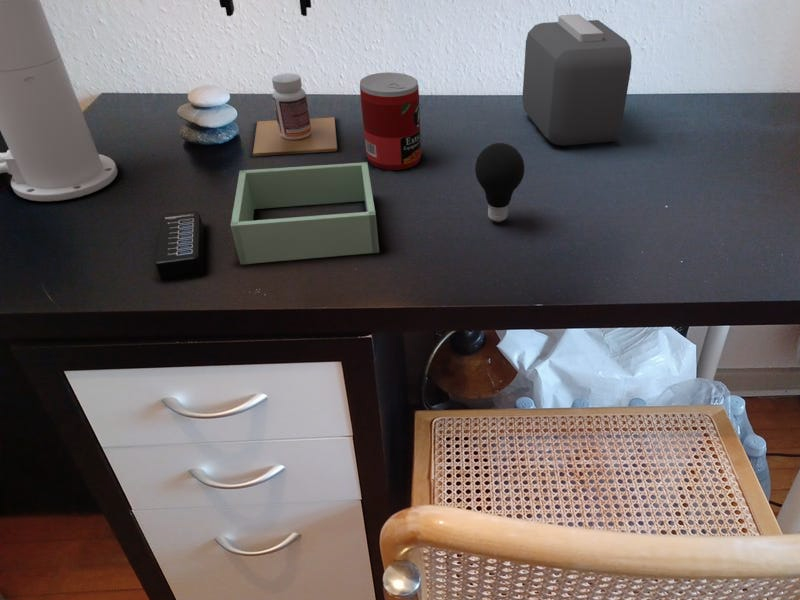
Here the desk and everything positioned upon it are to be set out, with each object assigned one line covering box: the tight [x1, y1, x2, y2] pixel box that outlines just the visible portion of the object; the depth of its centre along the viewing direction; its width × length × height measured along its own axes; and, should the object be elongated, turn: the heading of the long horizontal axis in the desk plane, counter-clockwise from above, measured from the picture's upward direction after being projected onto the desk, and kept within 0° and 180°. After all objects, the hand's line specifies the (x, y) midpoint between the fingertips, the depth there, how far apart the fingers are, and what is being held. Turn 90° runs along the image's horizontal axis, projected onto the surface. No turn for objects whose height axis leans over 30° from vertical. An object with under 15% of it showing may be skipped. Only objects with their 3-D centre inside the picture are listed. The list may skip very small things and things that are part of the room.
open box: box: [230, 161, 380, 265], centre depth 79 cm, size 16×14×5 cm
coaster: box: [252, 116, 338, 157], centre depth 101 cm, size 12×12×1 cm
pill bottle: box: [271, 72, 311, 140], centre depth 98 cm, size 5×5×8 cm
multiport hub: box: [154, 210, 205, 282], centre depth 75 cm, size 4×11×2 cm, turn 17°
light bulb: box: [474, 142, 525, 224], centre depth 79 cm, size 6×6×10 cm
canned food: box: [359, 72, 422, 171], centre depth 92 cm, size 8×8×11 cm
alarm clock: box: [521, 13, 633, 146], centre depth 100 cm, size 16×11×16 cm
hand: (267, 13), depth 89 cm, fingers open, 9 cm apart
